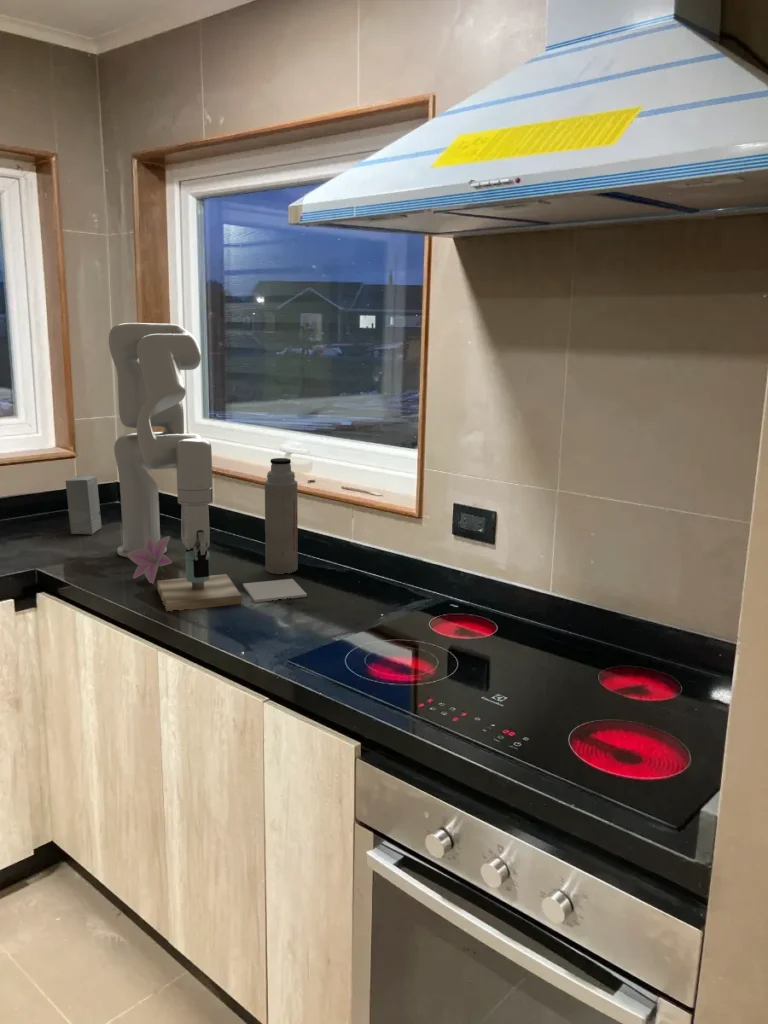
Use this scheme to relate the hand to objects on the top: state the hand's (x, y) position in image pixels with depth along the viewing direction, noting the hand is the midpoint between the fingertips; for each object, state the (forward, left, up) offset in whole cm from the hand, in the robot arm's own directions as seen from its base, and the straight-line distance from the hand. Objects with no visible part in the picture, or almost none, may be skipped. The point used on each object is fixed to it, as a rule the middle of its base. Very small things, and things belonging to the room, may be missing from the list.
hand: (197, 570), depth 184 cm
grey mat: (+2, +17, -6) cm, 18 cm away
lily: (-18, -8, -6) cm, 21 cm away
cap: (0, 0, -2) cm, 2 cm away
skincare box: (-67, -21, -6) cm, 71 cm away
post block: (0, 0, -6) cm, 6 cm away
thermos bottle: (-14, +23, -6) cm, 28 cm away
